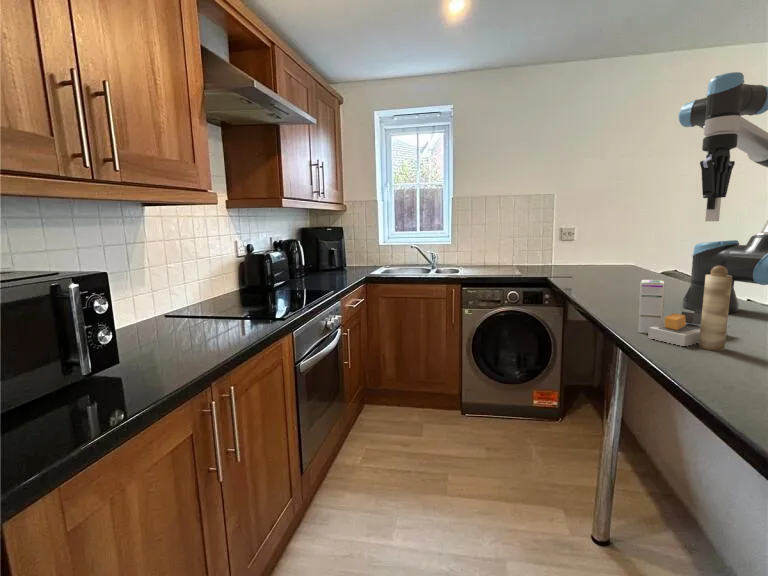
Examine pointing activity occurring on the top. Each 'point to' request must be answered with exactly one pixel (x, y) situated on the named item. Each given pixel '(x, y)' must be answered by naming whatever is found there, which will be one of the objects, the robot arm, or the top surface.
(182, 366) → the top surface
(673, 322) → the paddle
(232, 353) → the top surface
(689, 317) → the paddle middle
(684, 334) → the breaker strip
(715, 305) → the pepper mill
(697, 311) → the paddle
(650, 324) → the syrup box
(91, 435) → the top surface
